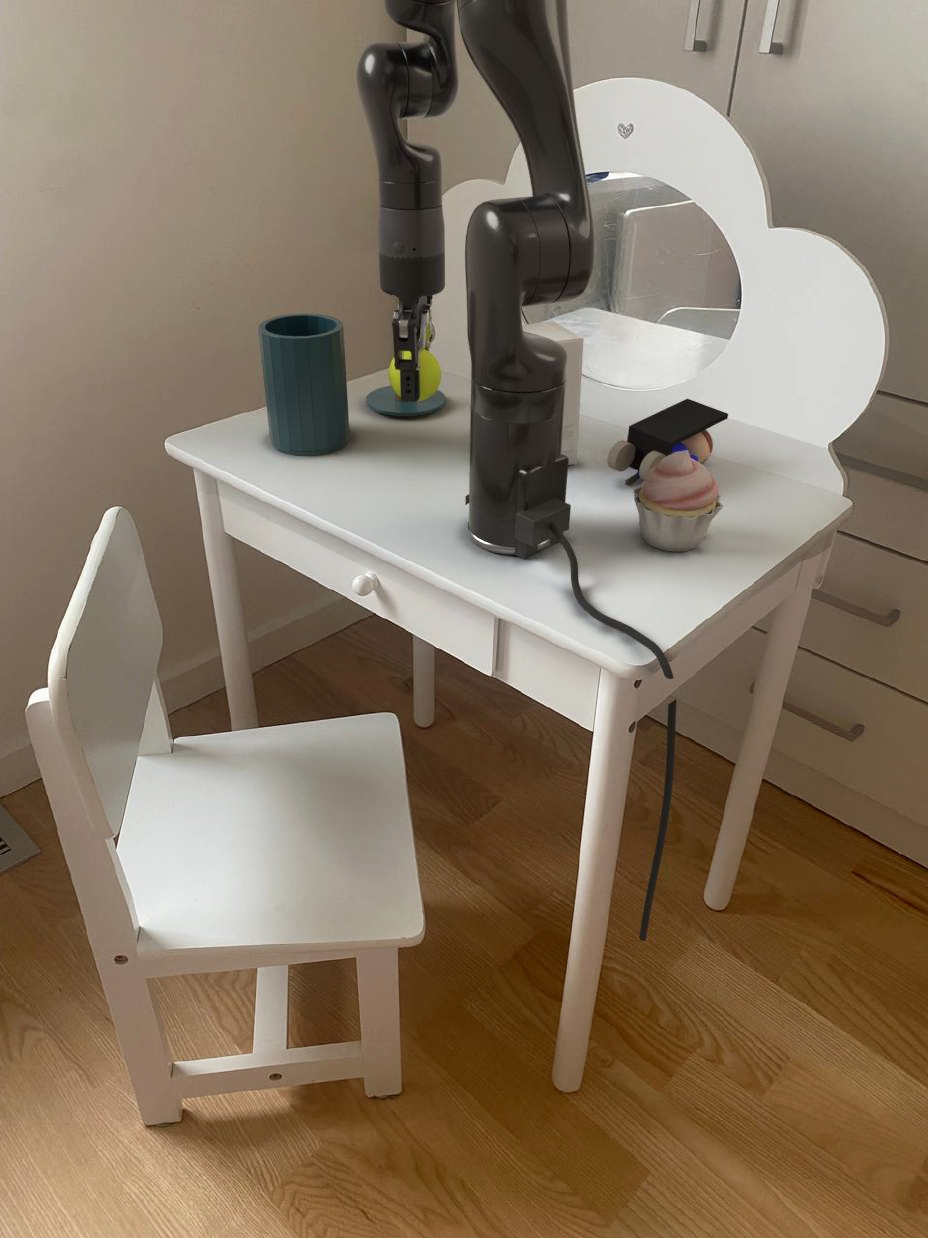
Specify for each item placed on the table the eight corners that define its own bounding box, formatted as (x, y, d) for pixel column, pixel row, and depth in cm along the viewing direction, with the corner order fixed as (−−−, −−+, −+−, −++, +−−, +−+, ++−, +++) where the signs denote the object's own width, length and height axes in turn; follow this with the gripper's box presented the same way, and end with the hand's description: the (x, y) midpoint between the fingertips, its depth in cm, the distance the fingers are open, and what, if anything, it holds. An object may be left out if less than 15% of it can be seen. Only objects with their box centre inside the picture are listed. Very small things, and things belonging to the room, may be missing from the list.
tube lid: (462, 406, 133) (462, 356, 129) (401, 426, 126) (400, 374, 122) (410, 385, 139) (409, 337, 135) (350, 404, 133) (347, 353, 129)
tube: (365, 441, 122) (360, 326, 114) (300, 462, 117) (290, 343, 108) (319, 419, 128) (310, 308, 120) (255, 438, 123) (242, 324, 114)
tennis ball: (452, 400, 118) (452, 348, 114) (412, 412, 114) (411, 359, 111) (418, 387, 122) (417, 337, 118) (378, 399, 118) (376, 347, 115)
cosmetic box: (577, 465, 117) (588, 338, 108) (528, 473, 115) (535, 344, 106) (547, 440, 123) (555, 318, 115) (500, 447, 121) (504, 323, 113)
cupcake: (730, 557, 98) (747, 467, 93) (642, 562, 97) (654, 472, 92) (699, 515, 106) (713, 430, 100) (617, 520, 105) (626, 434, 99)
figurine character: (649, 514, 109) (725, 463, 117) (653, 455, 105) (731, 406, 112) (603, 495, 113) (679, 447, 121) (604, 437, 109) (683, 391, 116)
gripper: (435, 262, 102) (437, 413, 111) (452, 235, 114) (453, 373, 123) (366, 260, 103) (373, 410, 112) (390, 233, 115) (395, 370, 124)
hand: (415, 390), depth 117 cm, fingers closed on tennis ball, 6 cm apart
